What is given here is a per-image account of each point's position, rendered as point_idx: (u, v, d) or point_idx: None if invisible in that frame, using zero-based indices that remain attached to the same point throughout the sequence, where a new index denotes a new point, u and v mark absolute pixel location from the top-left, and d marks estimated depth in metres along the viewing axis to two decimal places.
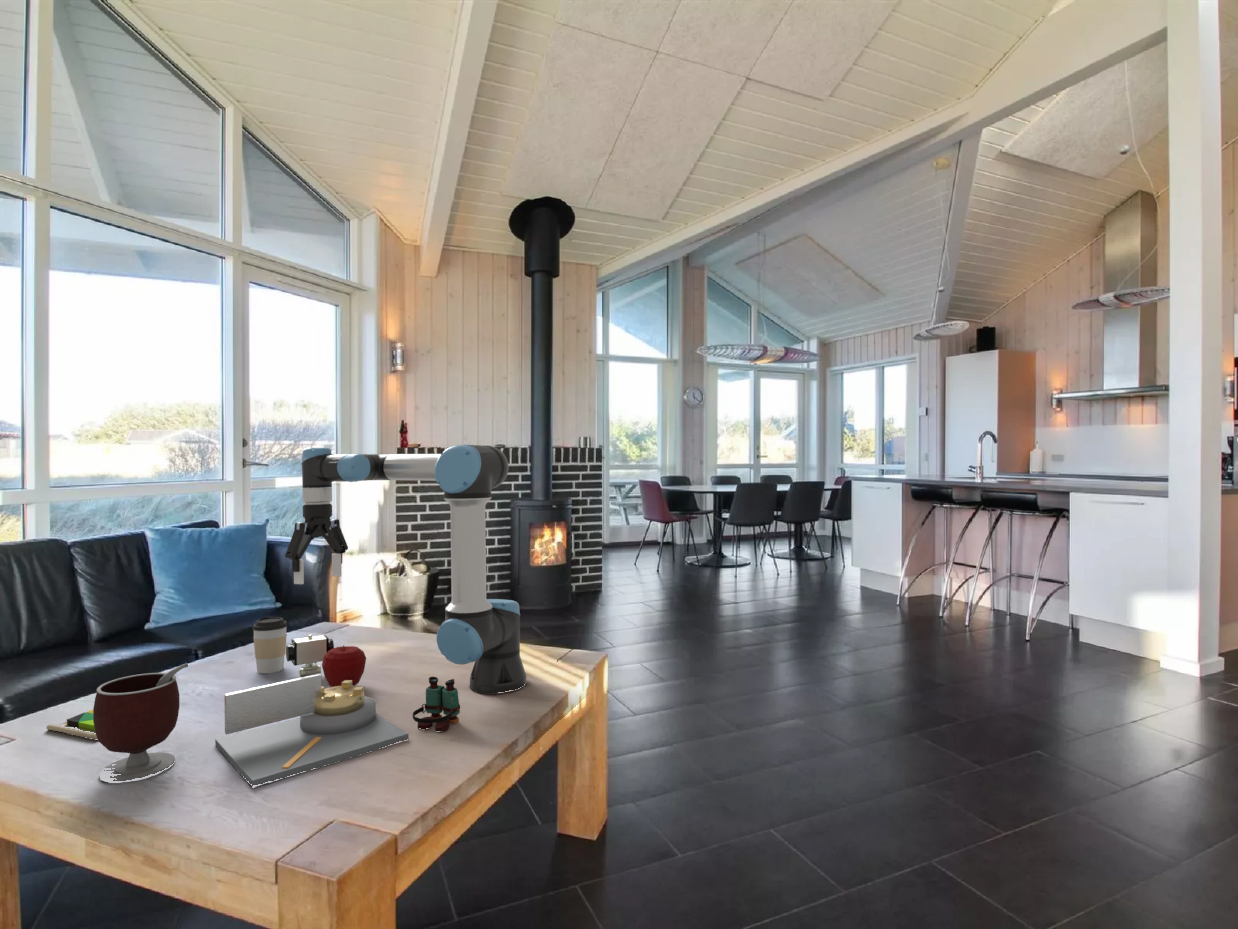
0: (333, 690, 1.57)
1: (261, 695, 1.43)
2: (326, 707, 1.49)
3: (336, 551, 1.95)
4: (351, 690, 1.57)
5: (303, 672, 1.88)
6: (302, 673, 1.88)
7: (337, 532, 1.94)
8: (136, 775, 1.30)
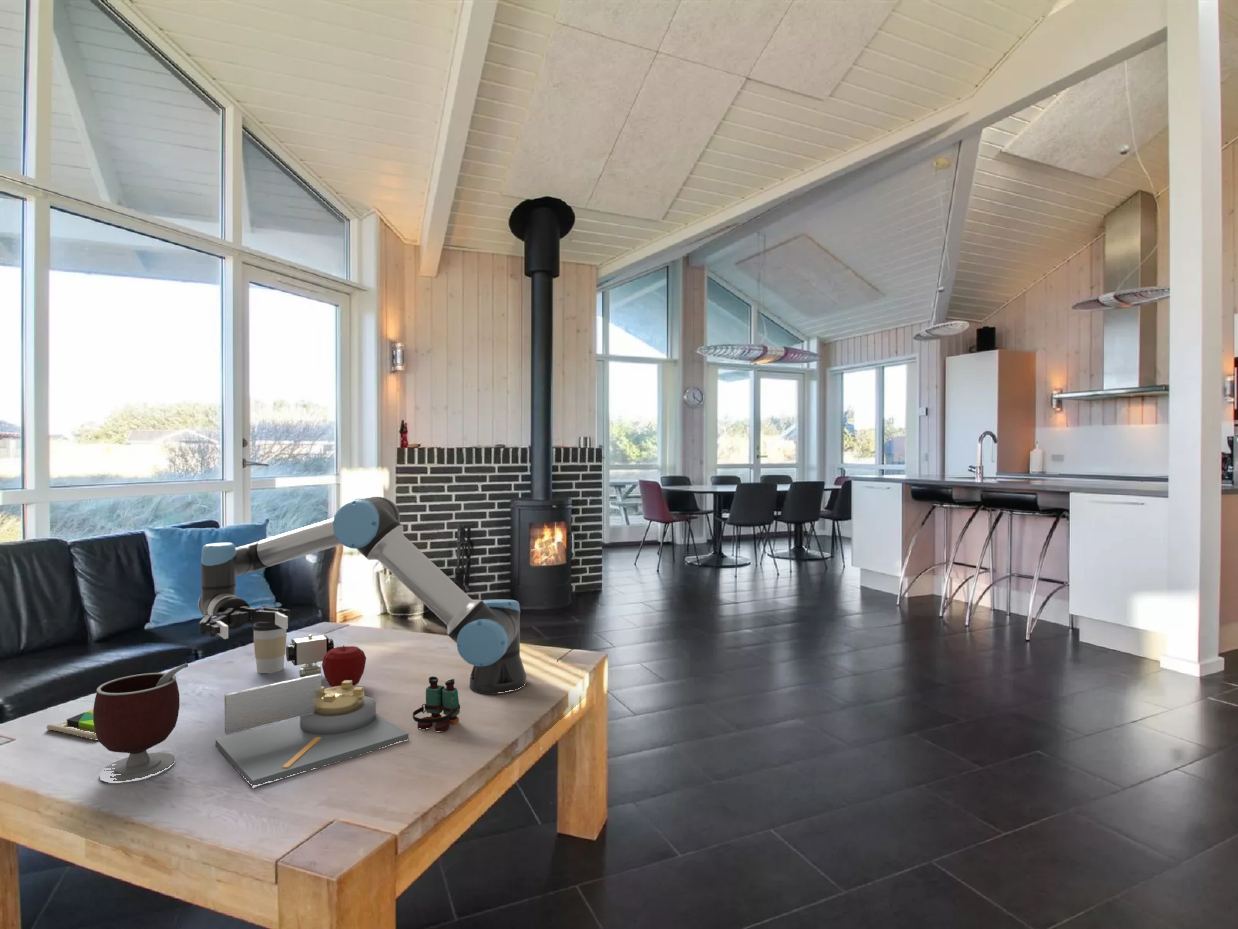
0: (333, 690, 1.57)
1: (261, 695, 1.43)
2: (326, 707, 1.49)
3: None
4: (351, 690, 1.57)
5: (303, 672, 1.88)
6: (302, 673, 1.88)
7: (268, 610, 1.63)
8: (136, 775, 1.30)
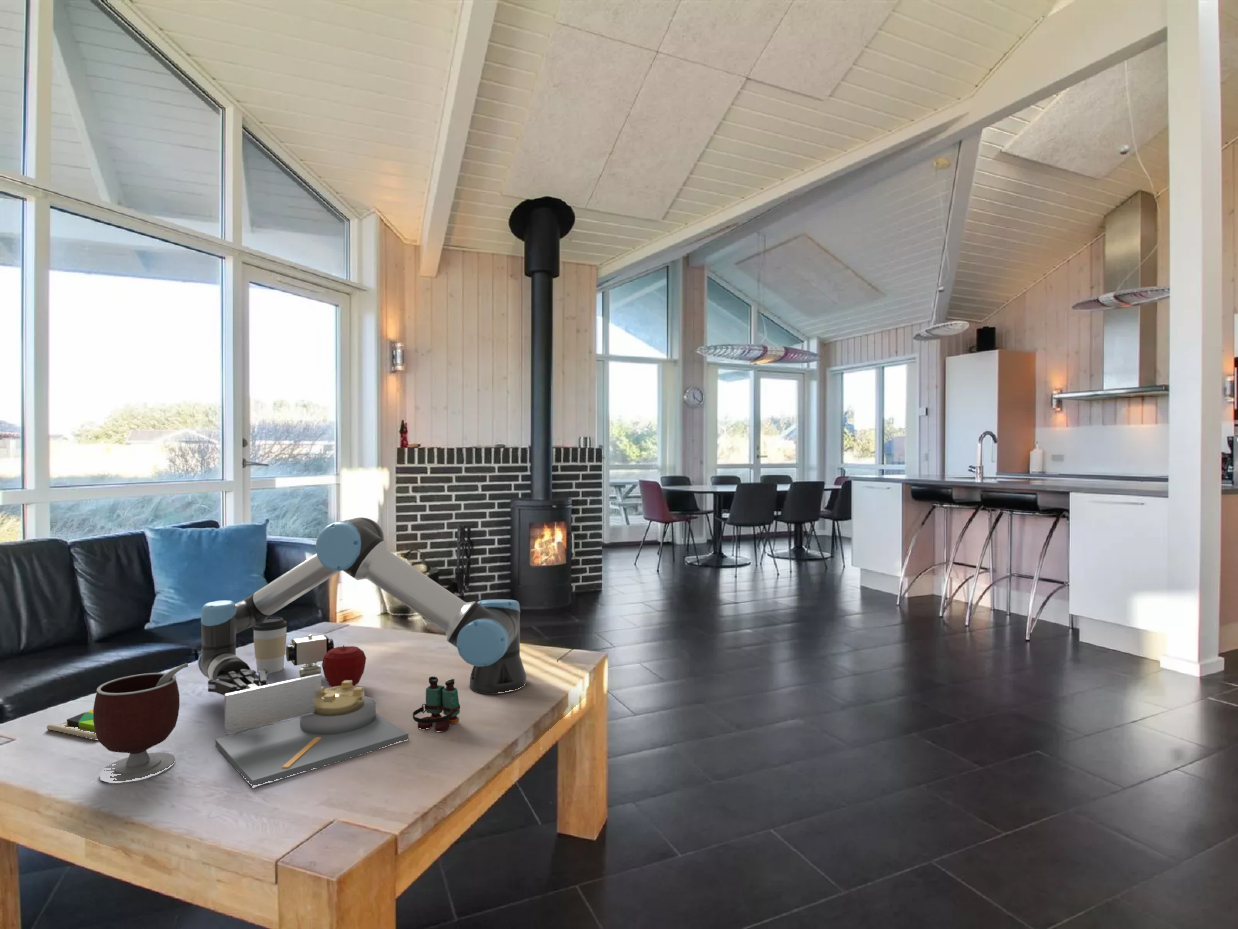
0: (333, 690, 1.57)
1: (261, 695, 1.43)
2: (326, 707, 1.49)
3: None
4: (351, 690, 1.57)
5: (303, 672, 1.88)
6: (302, 673, 1.88)
7: (259, 675, 1.61)
8: (136, 775, 1.30)
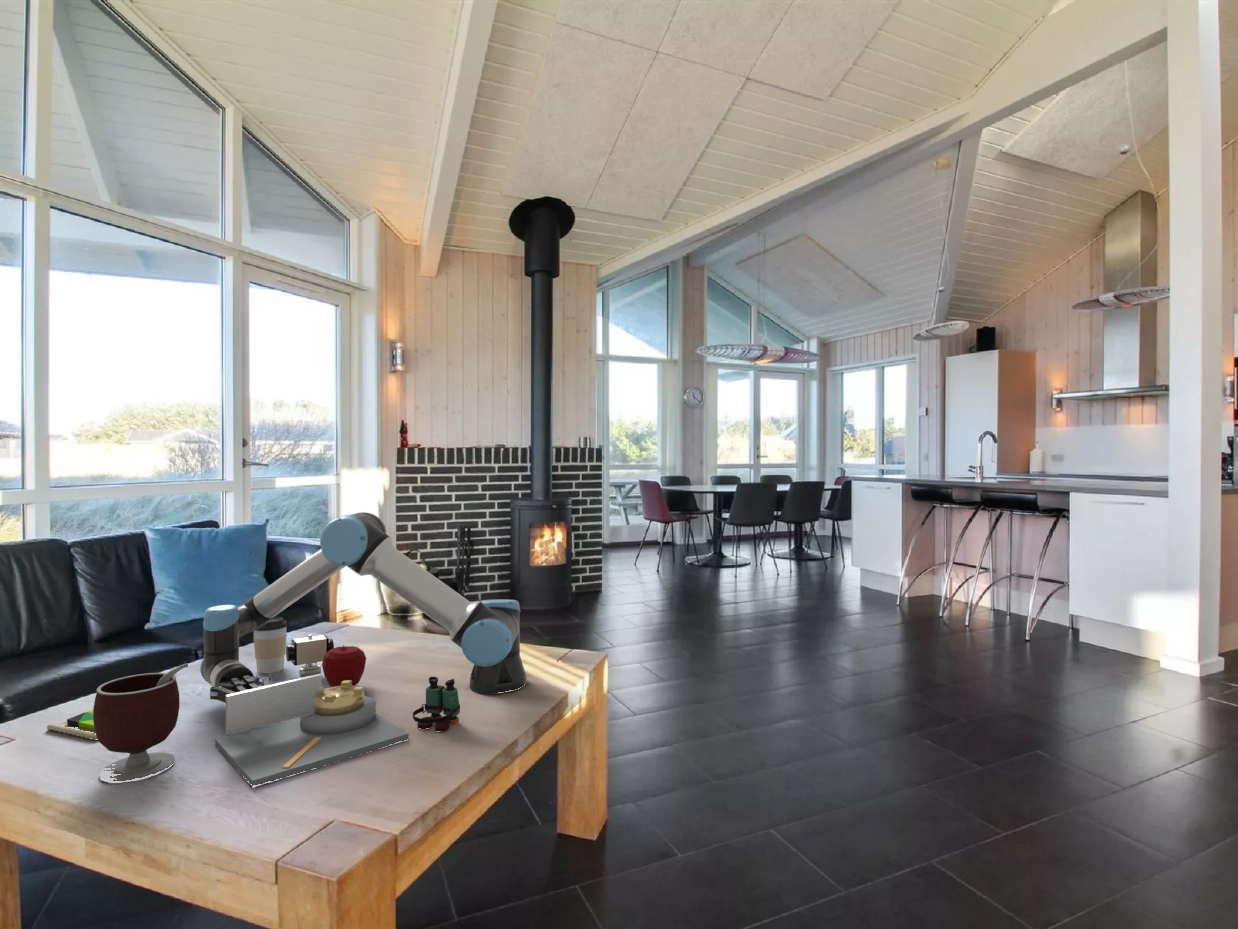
0: (332, 691, 1.57)
1: (262, 696, 1.43)
2: (327, 707, 1.49)
3: None
4: (351, 690, 1.57)
5: (303, 672, 1.88)
6: (302, 673, 1.88)
7: (263, 682, 1.57)
8: (136, 775, 1.30)
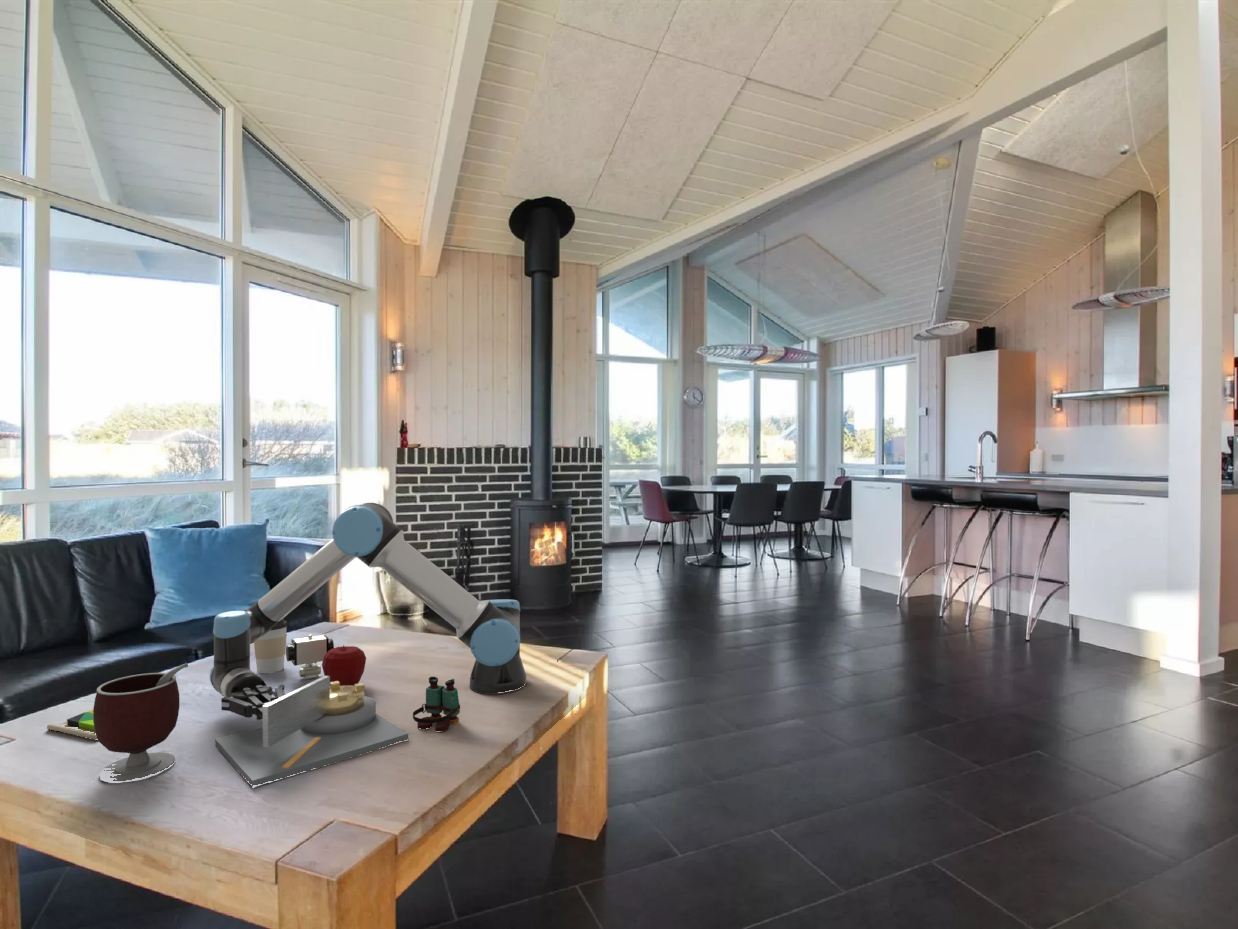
0: None
1: (291, 702, 1.39)
2: (342, 705, 1.50)
3: None
4: (346, 689, 1.58)
5: (303, 672, 1.88)
6: (302, 673, 1.88)
7: (276, 692, 1.50)
8: (136, 775, 1.30)
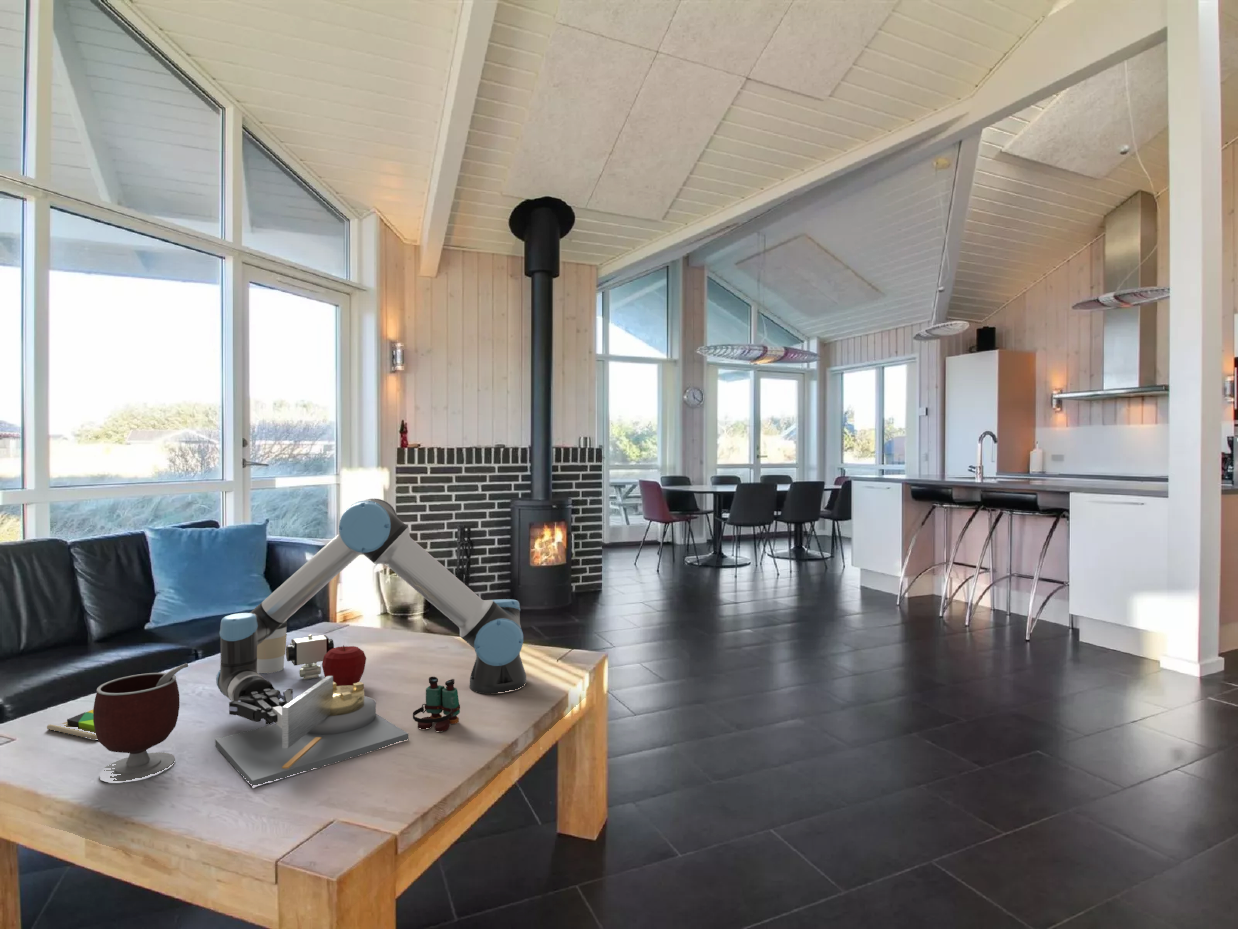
0: None
1: (305, 703, 1.39)
2: (346, 704, 1.51)
3: None
4: (344, 689, 1.58)
5: (303, 672, 1.88)
6: (302, 673, 1.88)
7: (284, 696, 1.47)
8: (136, 775, 1.30)
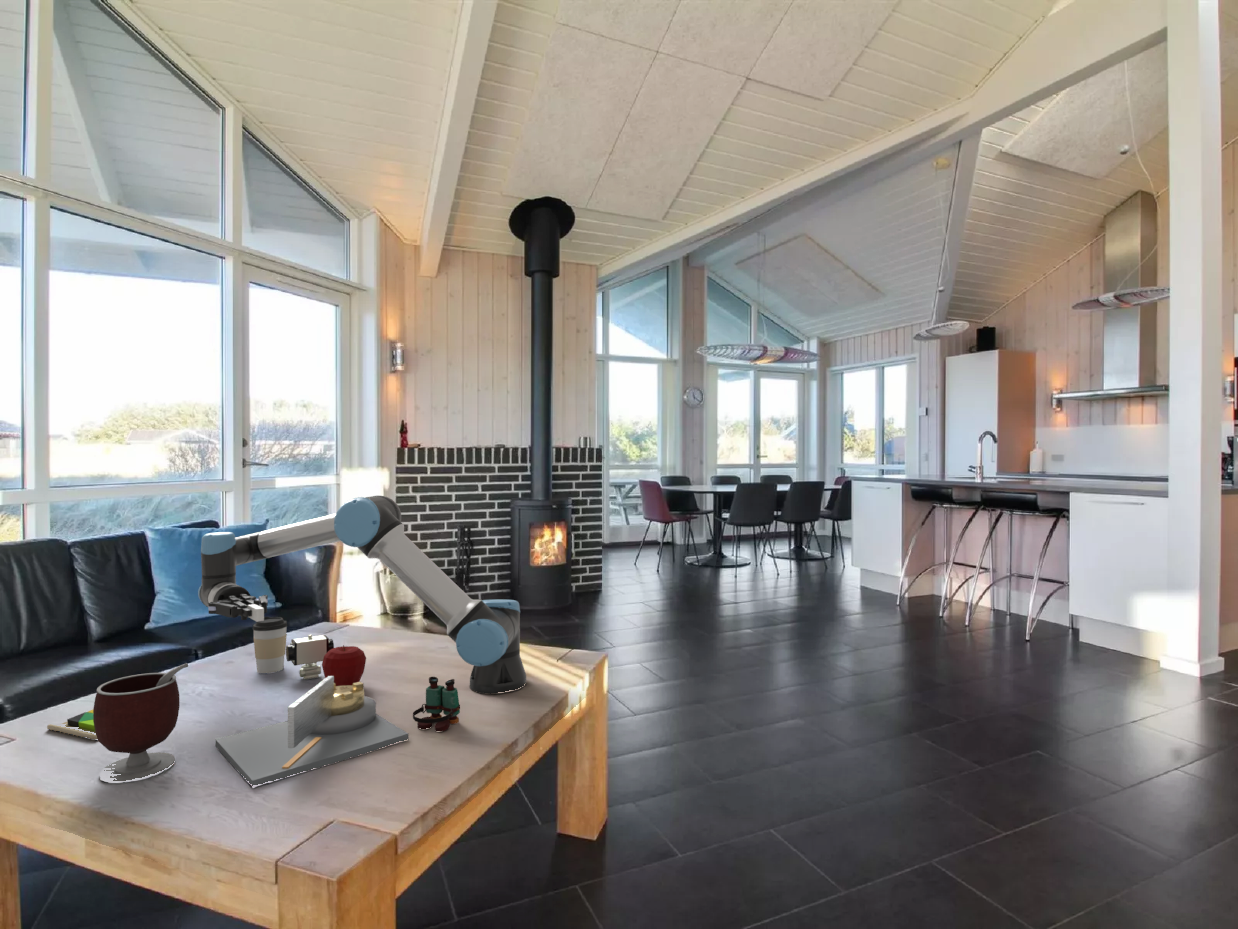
0: None
1: (309, 703, 1.39)
2: (348, 704, 1.51)
3: None
4: (344, 689, 1.58)
5: (303, 672, 1.88)
6: (302, 673, 1.88)
7: None
8: (136, 775, 1.30)
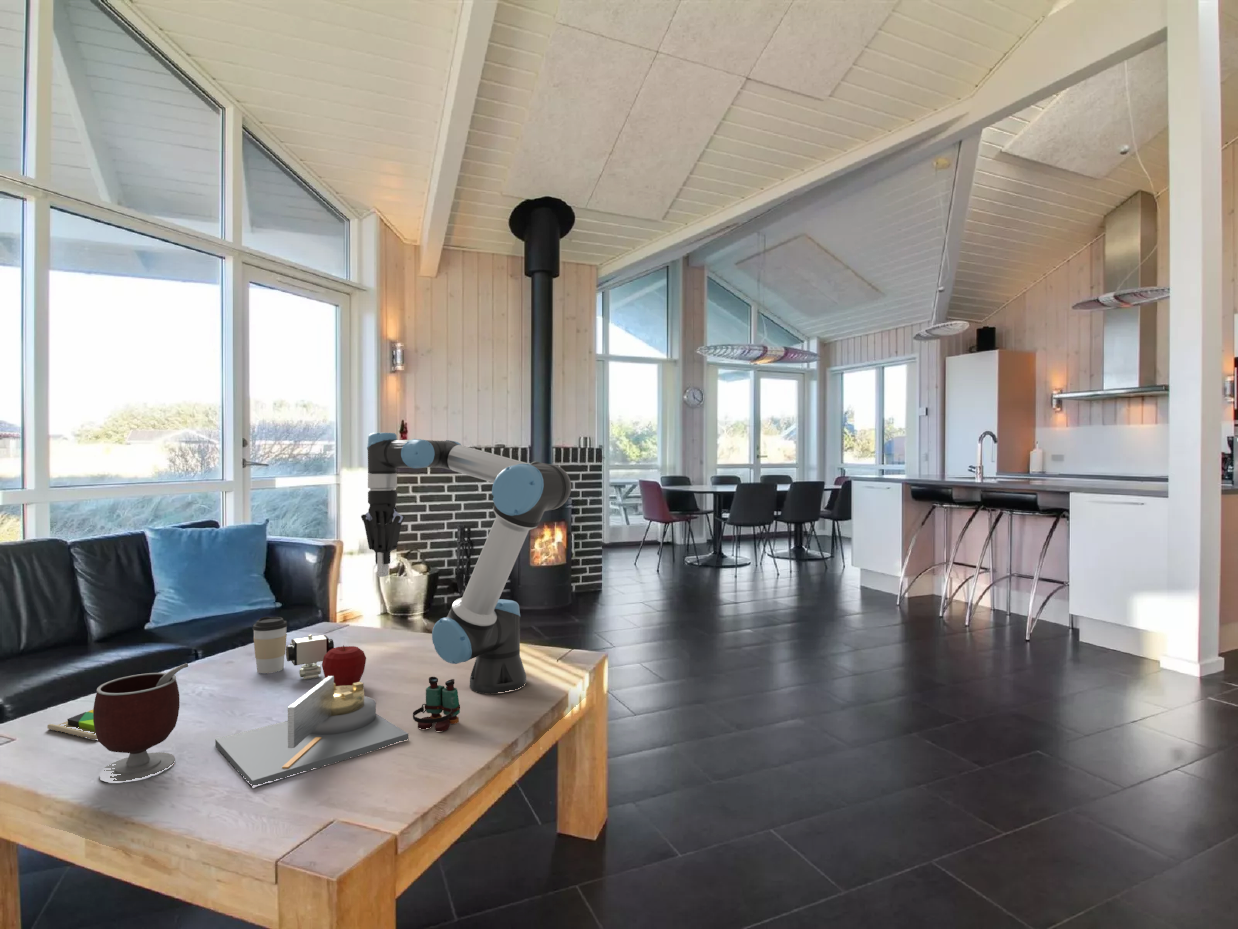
0: None
1: (309, 703, 1.39)
2: (348, 704, 1.51)
3: None
4: (344, 689, 1.58)
5: (303, 672, 1.88)
6: (302, 673, 1.88)
7: None
8: (136, 775, 1.30)
